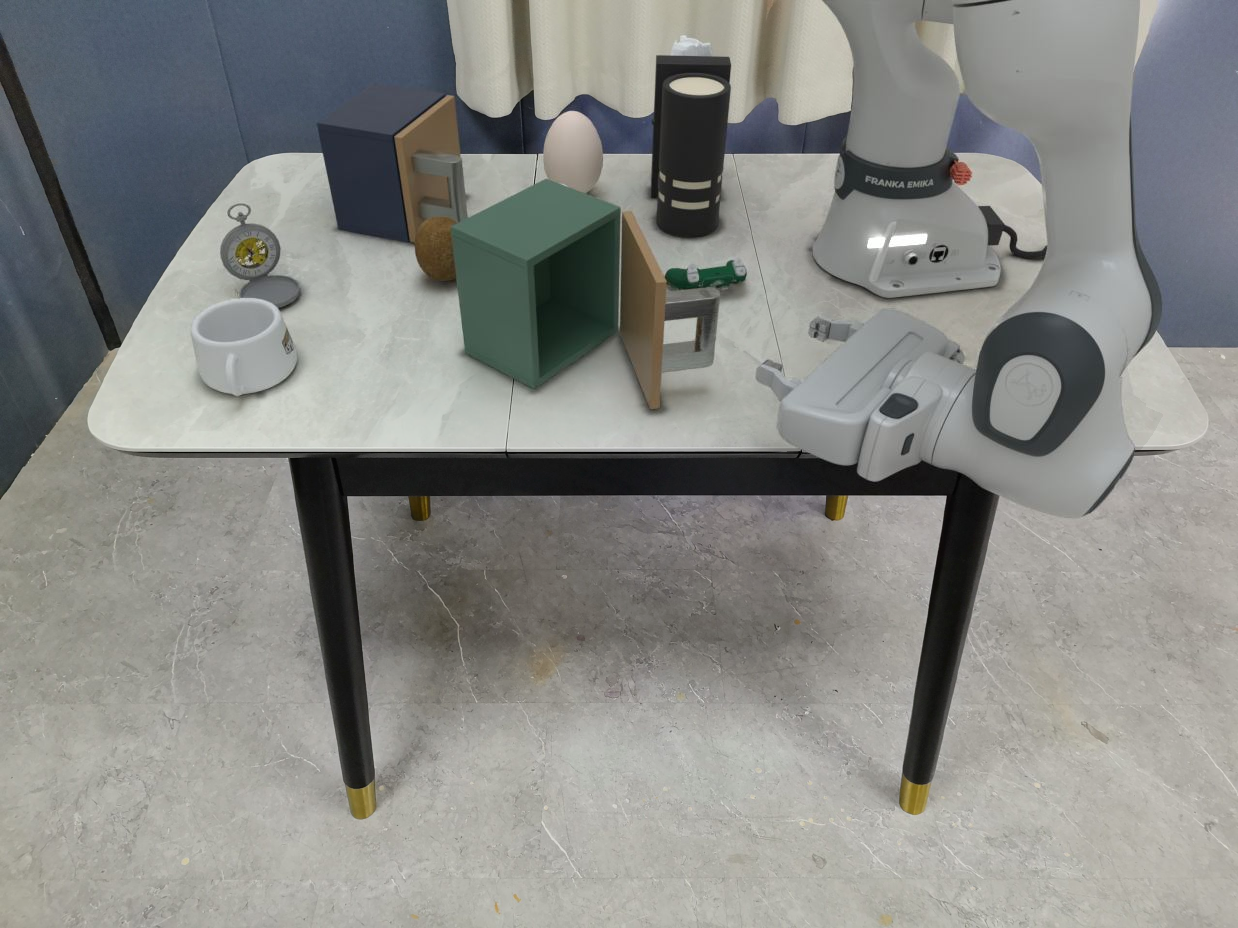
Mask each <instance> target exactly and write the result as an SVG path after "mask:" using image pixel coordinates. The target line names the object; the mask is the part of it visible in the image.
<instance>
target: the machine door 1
mask: <svg viewBox="0 0 1238 928" xmlns="http://www.w3.org/2000/svg"><path fill="white" fill-rule="evenodd" d="M457 117H458V116H457V107H456V98H455V95H449V94H447V95H446V97H444V98H443V99H442V100H441V101H439V102H438V103H437V104H435V105H434V106H433V107H432V108H430V109H429V110H428V111H427V112H425V113H424V114H423V115H421V116H420V117H419V118H418V119H416V120H415V121H414V122H412V123H411V124H410V125H409V126H407V127H406V128H405V129H404V130H402V131H401V132H400V133H398V134H397V135H396V136H395V137H394V138H395V144H396V151H397V158H398V164H399V171H400V178H401V184H402V191H403V198H404V204H405V211H406V218H407V224H408V231H409V238H410V241H409V242H410V243H414V242H415V235H416V233H417V230H418V229H419V227H420V226H421V224H422V223H423V222H424V221H425V220H427V219H429V218H433V217H440V216H441V217H448V218H451V219H453V220H454V221H455V222H456V223H459V222H461V221H463V220H465V219H467V218H469V217H468V216H469V215H468V206H467V196H466V187H465V176H464V167H463V158H462V157H461V146H460V137H459V128H458V127H459V125H458V118H457Z"/></svg>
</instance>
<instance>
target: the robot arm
mask: <svg viewBox="0 0 1238 928" xmlns="http://www.w3.org/2000/svg"><path fill="white" fill-rule="evenodd" d="M821 1H822V2H823V3H824V4H825V6H827V7H828V9H829V10H830V11H831V12H832V14H833V15H834V17H835V18H836V19H837V21H838V23H839V24H840V26H841V28H842V30H843V32H844V34H845V37H846V39H847V42H848V45H849V48H850V51H851V55H852V62H853V71H854V72H853V74H854V75H853V76H854V77H853V80H854V81H853V91H852V102H851V103H852V104H851V109H850V117H849V123H848V128H847V135H846V136H845V137H844V139H843V140H842V142H841V147H840V150H839V155H838V157H837V160H836V167H835V173H834V179H833V188H834V193H833V196H832V200H831V203H830V205H829V209H828V212H827V215H826V218H825V220H824V223H823V225H822V228H821V230H820V232H819V234H818V236H817V238H816V240H815V242H814V243H813V246H812V256H813V258H814V261H815V262H816V263H817V264H818V265H819V266H820V267H821V268H822V269H823V270H824V271H825V272H827V273H829V274H830V275H832V276H834V277H835V278H838V279H840V280H843V281H846V282H847V283H848V282H849V283H852V284H854V285H857V286H861V287H863V288H865V289H867V290H868V291H870V292H872V293H873V294H875V295H877V296H879V297H881V298H884V299H885V298H887V299H893V298H902V297H903V298H904V297H910V296H920V295H929V294H938V293H945V292H955V291H964V290H971V289H972V290H973V289H981V288H989V287H995V286H997V284H998V282H999V281H1000V275H1001V272H1002V269H1001V268H1002V267H1001V263H1000V259H999V258H998V256H997V254H996V252H995V250H994V249H993V247H992V246H999V244H1000V241H1001V238H1002V235H1003V233H1006V234H1007V235H1008V236H1009V237H1010V239H1009V245H1008V246H1009V250H1010V252H1011V253H1012V254H1013V255H1014V256H1016V257H1019V258H1022V259H1038V258H1039V259H1040V258H1044V260H1043V262H1042V264H1041V267H1040V270H1039V271H1038V274H1037V276H1036V277H1035V279H1034V281H1033V283H1032V284H1031V286H1030V287H1029V288H1028V290H1027V291H1026V292H1025V293H1024V294H1023V295H1022V296H1021V297H1020V298H1019V299H1018V300H1017V301H1016V302H1015V303H1014V304H1013V305H1012V306H1011V307H1009V309H1008V310H1007V311H1006V312H1005V313H1004V314H1003V315H1002V316H1001V317H1000V318H999V319H998V320H997V321H996V322H995V324H993V326H992V327H991V329H990V330H989V331H988V333H987V334H986V337H985V338H984V340H983V343H982V346H981V347H980V351H979V355H978V360H977V363H976V369H975V368H973V367H970V366H968V365H965V364H964V362H965V359H966V356H965V354H964V352H963V350H962V348H961V346H960V344H959V343H958V342H956V341H954V340H951V339H948V337H947V335H946V334H945V333H944V332H943V331H941V330H940V329H939V328H937V327H936V326H933V325H932V324H929V323H928V322H926V321H924V320H922V319H920V318H918V317H917V316H913V315H911V314H909V313H907V312H905V311H902V310H900V309H897V308H881V309H880V310H878V311H877V312H876V313H875V314H874V315H873V316H872V317H871V318H869V319H868V320H867V321H866V322H865V323H863V322H860V321H858V320H849V319H847V320H846V319H831V318H829V317H827V316H824V315H823V314H822V315H821V314H819V315H817V316H816V317H815V318H813V320H811V321H810V323H809V325H808V327H809V328H808V331H807V334H808V336H809V337H810V338H812V339H816V340H817V341H819V342H821V343H825V342H826V341H827V340H831V341H836V342H837V341H838V342H843V343H842V344H841V345H840V346H839V347H838V348H836V350H835V351H833V352H832V353H831V354H830V355H829V356H828V357H826V358H825V360H823V362H821V363H820V364H819V365H818V366H817V367H816V368H815V369H814V370H812V372H811V373H809V374H808V375H807V376H806V377H805V378H804V379H803V380H800V379H798V378H796V377H792V378H790V380H789V378H788V377H786V375H785V374H783V371H782V370H783V364H780V363H778V362H776V361H775V362H774V361H773V360H771V359H766V360H764V361H763V363H761V364H760V365H758V366H757V367H756V371H755V380H756V382H757V383H759V384H761V385H763V386H765V387H767V388H769V389H771V391H772V393H773V394H774V395H775V397H776V398H777V399H778V401H779V403H780V404H779V407H778V412H777V418H776V426H775V427H776V430H777V433H778V434H779V436H780V437H781V438H782V440H784V441H785V442H787V443H788V444H790V445H792V446H794V447H796V448H798V449H800V450H802V451H804V452H805V453H808V454H810V455H813V456H814V457H817V458H819V459H822V460H823V461H826V462H829V463H831V464H835V465H839V466H853V465H855V464H857V466H856V473H857V475H859V477H862V478H863V479H864V480H867V481H870V482H873V483H874V482H880V481H882V480H884V479H886V478H888V477H890V476H892V475H895V474H896V473H898V472H900V471H902V470H904V469H907V468H910V467H913V466H916V465H918V464H920V463H921V462H925V463H927V464H929V465H932V466H933V467H935V468H938V469H944V470H949V471H955V472H958V473H960V474H962V475H963V476H966V477H967V478H969V479H970V480H972V481H973V482H974V483H975V484H977V486H979V487H980V488H982V489H984V490H986V491H988V492H990V493H992V494H995V495H996V496H999V497H1001V498H1004V499H1006V500H1008V501H1011V502H1013V503H1015V504H1018V505H1020V506H1022V507H1026V508H1028V509H1031V510H1034V511H1036V512H1039V513H1041V514H1042V513H1043V514H1046V515H1049V516H1054V517H1058V518H1064V519H1080V518H1083V517H1086V516H1087V515H1090V514H1091V513H1093V512H1094V511H1095V510H1096V509H1098V508H1099V507H1100V506H1101V504H1102V503H1103V502H1104V501H1106V499H1107V498H1108V497H1109V495H1110V494H1111V493H1112V491H1113V490H1114V489H1115V487H1116V485H1118V483H1119V481H1120V480H1121V479H1122V478H1123V477H1124V475H1125V474H1126V473H1127V471H1128V469H1129V467H1130V465H1131V463H1132V461H1133V460H1134V457H1135V452H1136V445H1135V443H1134V442H1133V440H1132V439H1131V437H1130V436H1129V433H1128V430H1127V429H1128V428H1127V425H1126V422H1125V417H1124V416H1125V415H1124V410H1123V400H1122V399H1123V398H1122V397H1123V396H1122V393H1123V392H1122V390H1123V377H1122V375H1123V374H1124V372H1125V370H1126V369H1127V368H1128V366H1129V365H1130V364H1131V362H1132V360H1133V359H1135V357H1136V356H1137V355H1138V354H1139V353H1140V352H1141V351H1142V350H1143V349H1144V348H1145V347H1147V345H1148V344H1149V343H1150V342H1151V340H1152V339H1153V337H1154V336H1155V334H1156V333H1157V330H1158V328H1159V326H1160V323H1161V319H1162V314H1163V299H1162V292H1161V288H1160V286H1159V283H1158V281H1157V278H1156V276H1155V274H1154V271H1153V269H1152V268H1151V266H1150V264H1149V261H1148V259H1147V258H1146V256H1145V254H1144V252H1143V250H1142V247H1141V244H1140V241H1139V236H1138V231H1137V222H1136V221H1137V220H1136V205H1135V204H1136V203H1135V202H1136V201H1135V200H1136V199H1135V177H1134V155H1133V153H1134V151H1133V132H1132V131H1133V129H1132V115H1131V113H1132V112H1131V109H1132V100H1133V99H1132V98H1133V87H1134V86H1133V85H1134V84H1133V83H1134V71H1135V63H1136V54H1137V47H1138V46H1137V45H1138V36H1139V25H1140V10H1141V0H821ZM922 21H924V22H932V23H941V24H948V25H953V36H954V37H953V38H954V46H955V52H956V57H957V63H958V68H959V70H960V75H961V80H962V82H963V85H964V89H965V92H966V96H967V98H968V100H969V101H970V103H971V104H972V105H973V106H974V107H975V108H976V109H977V111H979V112H980V113H981V114H982V115H983V116H985V117H986V118H987V119H989V120H991V121H992V122H994V123H996V124H998V125H1000V126H1002V127H1004V128H1007V129H1010V130H1013V131H1017V132H1019V133H1021V134H1022V135H1024V137H1026V138H1027V139H1028V140H1029V142H1030V143H1031V144H1032V146H1033V148H1034V150H1035V153H1036V155H1037V159H1038V163H1039V169H1040V179H1041V190H1042V202H1043V211H1044V222H1045V233H1046V245H1045V246H1044V248H1043V249H1042V250H1037V251H1026V250H1021V249H1020V248H1018V247H1017V244H1018V234H1017V232H1016V231H1015V229H1013V228H1012V227H1011V226H1009V225H1007V224H1005V223H1004V221H1003V220H1002V219H1001V218H1000V216H999V215H998V214H997V213H996V212H995V210H994V209H993V208H992V207H991V205H977V204H976V202H975V201H974V200H973V199H972V198H971V197H970V196H969V195H968V194H967V193H966V192H965V191H964V190H963V189H962V188H961V187H960V186H964V185H966V184H968V182H970V181H971V178H972V177H973V171H971V169H970V168H969V167H968V165H967V163H966V162H964V161H959V160H960V159H959V157H958V156H957V154H956V153H955V152H953V150H951V149H949V148H948V147H947V145H948V142H949V138H950V134H951V131H952V127H953V123H954V119H955V115H956V111H957V108H958V104H959V101H960V97H961V96H960V95H961V92H960V91H961V87H960V82H959V81H960V80H959V79H958V75H957V74H956V72H955V70H954V69H953V67H952V66H951V65H950V64H949V63H948V62H947V61H946V60H945V59H944V58H943V57H941V56H940V55H939V54H937V53H935V52H934V51H933V50H932V49H930V48H929V47H927V45H925V43H924V42H923V41H922V40H921V38H920V37H919V35H918V32H917V29H916V22H922Z"/></svg>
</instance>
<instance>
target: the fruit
mask: <svg viewBox="0 0 1238 928" xmlns="http://www.w3.org/2000/svg"><path fill="white" fill-rule="evenodd" d="M455 224H457V223H456V222H455V221H454V220H453V219H451V218H448V217H441V216H440V217H433V218H429V219H427V220H425V221H424V222H423V223H422V224H421V226H420V227H419V229H418V230H417V233H416V235H415V242H413V243H414V255H415V258H416V261H417V264H418V266H419V268H420V269H421V270H422V272H423V273H424V274H425V275H426V276H427V277H428V278H429V279H432V280H435V281H438V282H449V281H452V280H455V279H456V270H455V261H454V253H453V244H452V235H451V226H453V225H455Z"/></svg>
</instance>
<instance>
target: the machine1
mask: <svg viewBox="0 0 1238 928" xmlns="http://www.w3.org/2000/svg"><path fill="white" fill-rule="evenodd" d="M446 96H447V95H446V93H444V92H438V91H432V90H425V89H418V88H411V87H404V86H397V85H391V84H383V83H377V82H375V83H373V84H372V85H370V86H369V87H366V89H364V90H362V91H361V92H360V93H358V94H357V95H356V96H354V97H352V98H351V99H350V100H348V101H346V102H345V103H344V104H342V105H341V106H339V107H337V108H336V109H335V110H333V111H332V112H330V113H329V114H327V115H326V116H325V117H323V118H321V119H320V120H319V121H317V122H316V127H317V133H318V138H319V142H320V148H321V151H322V156H323V163H324V165H325V166H324V167H325V172H326V176H327V181H328V186H329V191H330V195H331V200H332V205H333V210H334V215H335V219H336V224H337V229H338V230H341V231H345V232H350V233H351V232H352V233H356V234H360V235H361V234H362V235H368V236H372V237H378V238H383V239H387V240H393V241H398V242H403V243H409V242H410V238H409V231H408V224H407V218H406V211H405V204H404V198H403V191H402V184H401V178H400V171H399V164H398V158H397V151H396V144H395V138H394V137H395V136H396V135H397V134H398V133H400V132H401V131H402V130H404V129H405V128H406V127H407V126H409V125H410V124H411V123H412V122H414V121H415V120H416V119H418V118H419V117H420V116H421V115H423V114H424V113H425V112H427V111H428V110H429V109H430V108H432V107H433V106H434V105H435V104H437V103H438V102H439V101H441V100H442V99H443V98H444V97H446Z"/></svg>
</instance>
